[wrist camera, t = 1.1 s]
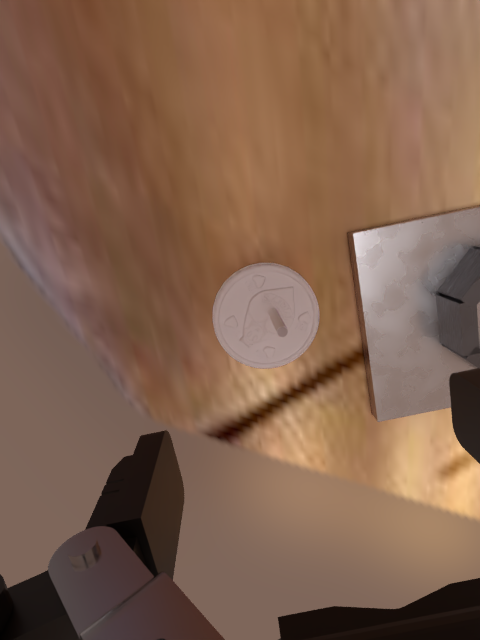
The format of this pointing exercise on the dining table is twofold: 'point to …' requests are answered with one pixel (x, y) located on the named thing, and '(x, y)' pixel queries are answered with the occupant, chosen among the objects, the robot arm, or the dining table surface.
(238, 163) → the dining table surface
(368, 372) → the hub plate
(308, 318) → the smoothie
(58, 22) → the dining table surface
